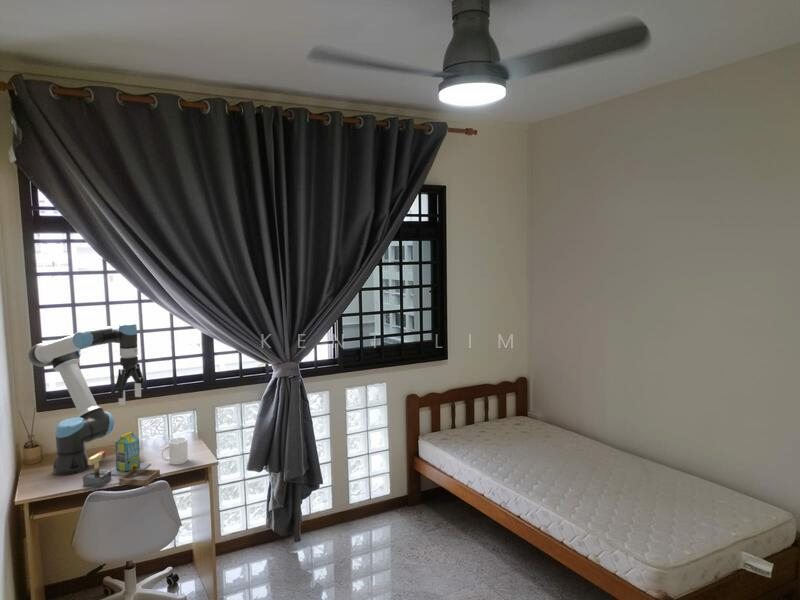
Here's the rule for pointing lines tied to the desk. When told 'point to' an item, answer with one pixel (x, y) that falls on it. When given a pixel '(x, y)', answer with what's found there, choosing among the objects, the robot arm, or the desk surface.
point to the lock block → (97, 478)
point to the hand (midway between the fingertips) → (130, 400)
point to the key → (96, 460)
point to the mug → (177, 451)
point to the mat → (122, 473)
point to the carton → (127, 453)
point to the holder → (144, 482)
